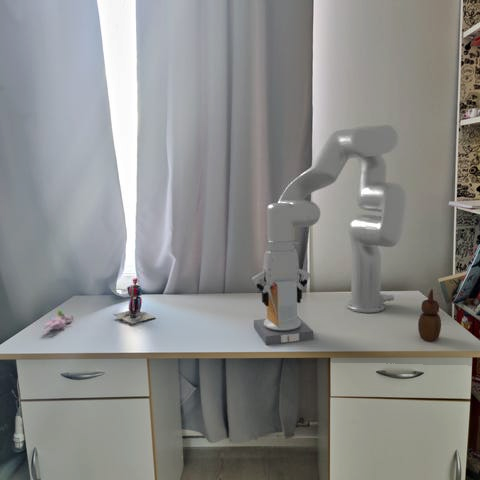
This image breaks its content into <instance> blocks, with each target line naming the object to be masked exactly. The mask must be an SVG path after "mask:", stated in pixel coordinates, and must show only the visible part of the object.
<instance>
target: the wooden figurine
mask: <svg viewBox="0 0 480 480" xmlns="http://www.w3.org/2000/svg"><path fill="white" fill-rule="evenodd" d="M420 307H421V311H422V313H421V314H420V315H419V318H418V321H417V322H418V324H417V328H418V334H419V337H420V339H422V340H423V341H427V342H435V341H436V340H439V338H440V337H439V336H440V333H441V330H442V320H441V316H440V314H438V313H439V312H440V303H439V302H438V301H437V300H435V299H434V289H433V288H432V289H431V288H430V291H429V293H428V297H427V299H425V300H423V301H422V303H421V306H420Z"/></svg>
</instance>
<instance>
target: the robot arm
mask: <svg viewBox="0 0 480 480" xmlns="http://www.w3.org/2000/svg"><path fill="white" fill-rule="evenodd" d="M398 142H399V134H398V131H397V130H396V127H394V126H392V125H389V124H380V125H379V124H378V125H365V126H362V125H361V126H357V127H353V128H351V129H350V128H349V129H348V128H347V129H339V130H335V131H334V132H332V133H331V134H330V135H329V136H328V138H327V140H326V142H325V143H324V144H323V146H322V148H321V150H320V152H319V153H318V155H317V156H316V158H315V160H314V161H313V163H312V165H311V166H310V167H309V168H308V169H306V170H305V171H304V172H303V173H301V174H300V175H299V176H297V177H296V178H295V179H294V180H293V181H291V182H290V183H289V184H288V186H286V188H285V190H284V191H283V193H282V194H281V196H280V197H279V200H278V202H273V203H270V204H268V206H267V210H266V213H267V216H266V217H267V250H264V251H265V252H264V256H263V264H262V265H263V266H262V271H261V272H259V273H258V274H256V275H254V276H253V277H252V278H251V280H252V281H253V283H254V285H255V287H256V288H257V289H259V290H260V292H261V302H262V303H263V304H264V305H265V306H266V307H267V306H269V294H268V292H267V291H268V289H269V288H270V287H271V286H274V283H275V282H283V281H296V282H297V304H301V300H302V299H303V290H304V287H305V286H306V285H307V284H308V281H309V279H310V277H311V273H309V271H308V272H307V270H303V269H301V268H300V262H299V257H298V252H297V250H296V246H299V245H300V242H299V240H295V228H297V227H304V228H305V227H306V228H308V227H312V226H314V225H315V224H317V223H318V221H319V220H320V218H321V210H320V206H318V204H316V203H315V202H313V201H310V200H304V199H306V198H307V197H308V196H309V195H311V194H313V193H314V192H316V191H319V190H322V189H325V188H327V187H329V186H330V185H332V184H334V183H335V182H336V181H337V180H338V178H339V176H340V174H341V173H342V171H343V169H344V167H345V166H346V165H347V162H348V160H350V159H352V158H353V159H357V162H358V167H359V175H358V185H357V195H356V203H357V206H358V207H359V208H360V209H362V210H363V211H370V212H377V213H381V215H374V214H359V215H358V214H357V215H356V216H354V217H353V218H351V220H350V222H349V223H348V224H349V225H348V236H349V241H350V247H351V274H350V275H351V281H350V282H351V283H350V284H351V287H350V288H351V293H350V297H351V298H350V300H348V301H347V302H346V308H347V309H348V310H350V311H353V312H357V313H364V314H367V313H368V314H369V313H371V314H372V313H378V312H382V311H383V310H385V308H386V307H385V306H386V305H385V302H391V301H394V299H395V298H394V295H393V294H388V295H387V294H386V293H384V294H382V293H381V280H382V279H381V278H382V275H381V273H382V255H381V251H380V249H379V247H384V248H392V247H395V246H397V245H398V243H399V242H400V240H401V238H402V234H403V229H404V228H403V227H404V221H405V219H404V218H405V213H406V212H405V211H406V203H407V202H406V201H407V199H406V193H405V190H404V188H403V186H401V184H399V183H395V182H391V181H390V182H387V163H386V161H385V158H384V156H383V155H385V154H389V153H391V152H392V151H394V150H395V148H396V147H397V145H398ZM300 275H302V276H303V278H302V279H301V278H300V277H301V276H300ZM261 279H262V281H263V284H261V283H260V280H261ZM300 279H301V280H300Z"/></svg>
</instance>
